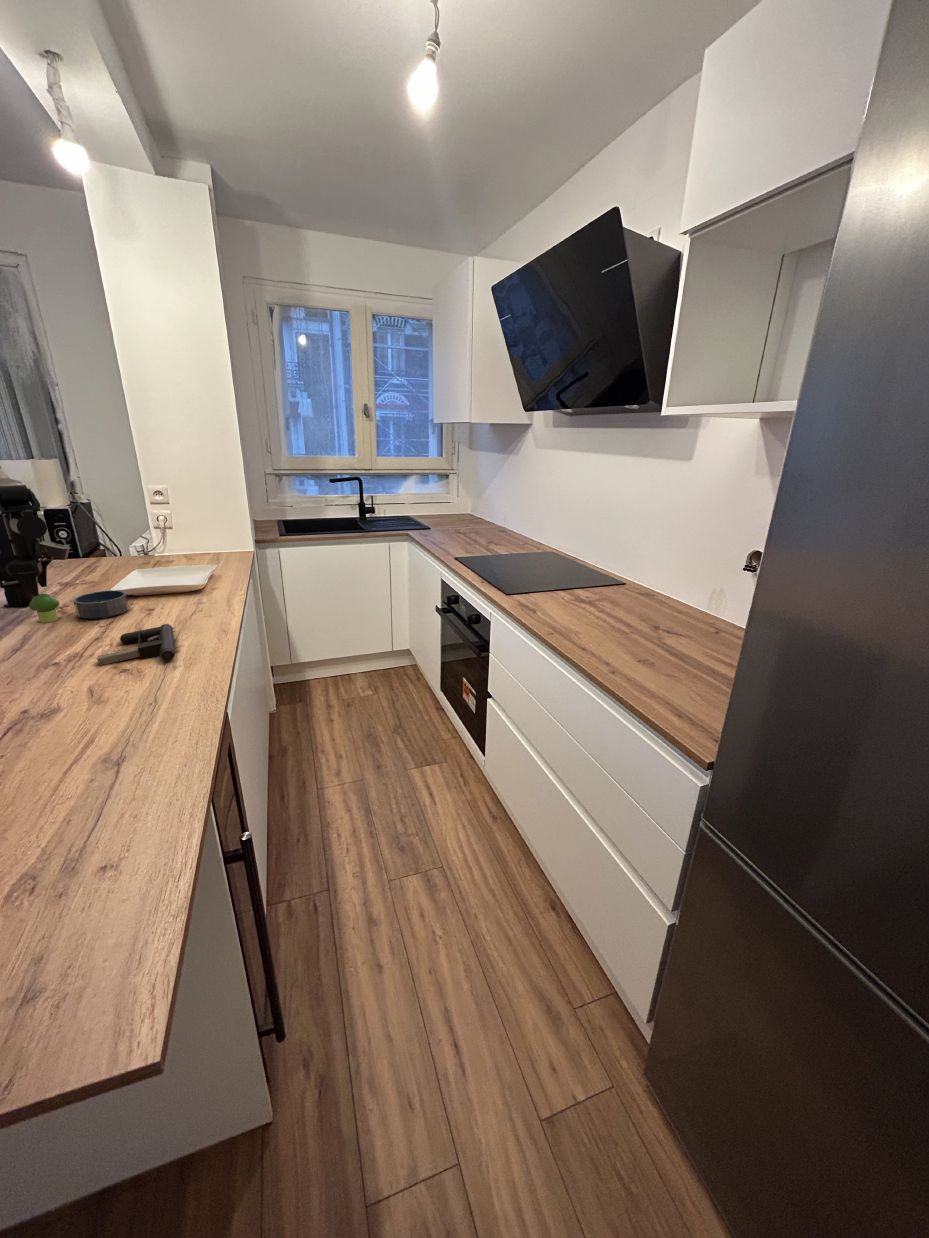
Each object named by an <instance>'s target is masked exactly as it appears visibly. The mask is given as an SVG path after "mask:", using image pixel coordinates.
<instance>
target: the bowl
mask: <svg viewBox="0 0 929 1238" xmlns="http://www.w3.org/2000/svg"><path fill="white" fill-rule="evenodd" d="M127 596H128V595H126V593H125V592H123V591H113V590H111V591H110V590H100V591H93V592H89V593H85V594H81V595H79V596H76V597H74V598H73V600H72V602H73V606H74V609H75V613H76V616H77V617H79V618H80V619H87V620H100V619H101V620H102V619H107V618H112V617H116V616H120V615H122V614H123V613H125V612H127V611H128V610H129V609H130V606H129V601H128V597H127Z"/></svg>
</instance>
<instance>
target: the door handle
mask: <svg viewBox="0 0 929 1238" xmlns="http://www.w3.org/2000/svg"><path fill="white" fill-rule="evenodd" d="M174 629H175V627H173V626H172V625H171V624H169V623H163V624H161V625H160V626H156V627H151V628H146V629H141V630H135V631H131V632H127V633H126V632H125V633H123V634H122V635H120V637H119V640H120V643H122V644H123V645H128V644H132V643H137V647H135V648H129V649H125V650H121V651H116V652H112V653H107V654H101V655H98V656H97V658H96V659H97V662H98V665H99V666H104V665H108V664H112V663H117V662H118V663H119V662H122V661H126V660H130V659H131V660H132V659H135V658H140V660H145V659H149V658H154V657H158V656H160V658H161V659H162V660H163V661H166V662H167V661H168V662H169V661H171V660H173V659H174V658H175V656H176V653H178V652H179V650H177V651H176V648H175V638H174V633H177V630H176V631H175V630H174ZM156 639H157V640H156ZM143 641H146V642H143Z"/></svg>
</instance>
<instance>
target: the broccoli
mask: <svg viewBox="0 0 929 1238" xmlns="http://www.w3.org/2000/svg"><path fill="white" fill-rule="evenodd" d="M59 606H60V601H59V600H58V599H57V598H55V597H54V596H53V595H51V594H48V593H39V595H38V596H35V597H34V598H33V599H32V601H31V602H30V604H29V606H28V607H29V609H31V610H32V611H36V614H37V619H38V621H39V623H43V624H47V623H53V622H56V621H58V620H59V616H58V612H57V608H59Z"/></svg>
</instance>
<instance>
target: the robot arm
mask: <svg viewBox="0 0 929 1238" xmlns="http://www.w3.org/2000/svg"><path fill="white" fill-rule="evenodd" d="M34 512H41V503H40V501H39V500H38V498H37V496H36V494H35V493H34V491H32V489H31V488H30V487H27V485H26V483H24V482H22V481H21V480H17V479H13V478H11V477H9V475H8V474H7V473H6V472H5V471H4V470H3V469H2V466H1V465H0V589H3V591H4V592H3V594H4V597H5V599H6V603H4V604H3V607H5V608H7V607H8V608H9V607H10V608H11V607H12V608H13V607H15V608H18V607H19V608H21V607H23V608H24V607H25V608H27V607H29V604H30V602H31V601H32V599H33V598H34V597H35V596H38V595H39V594H40V592H39V586H40V587H41V588H46V587H47V585H48V566H49V565H50V564H51V563H52V562H53V560H54V559H57V560H60V561H66V560H67V559H68V557H69V553H70V551H71V550H70V549H71V547H70V545H69V544H67V543H66V540H65V539H61V538H57V539H56V540H54V541H46V540H44V538H43V537H44V536H45V535H46V533H47V531H48V526H47V523H46V521H44V520H43V519H42V518H41V517H40V516H36V515H35V514H34ZM53 558H54V559H53Z"/></svg>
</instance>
